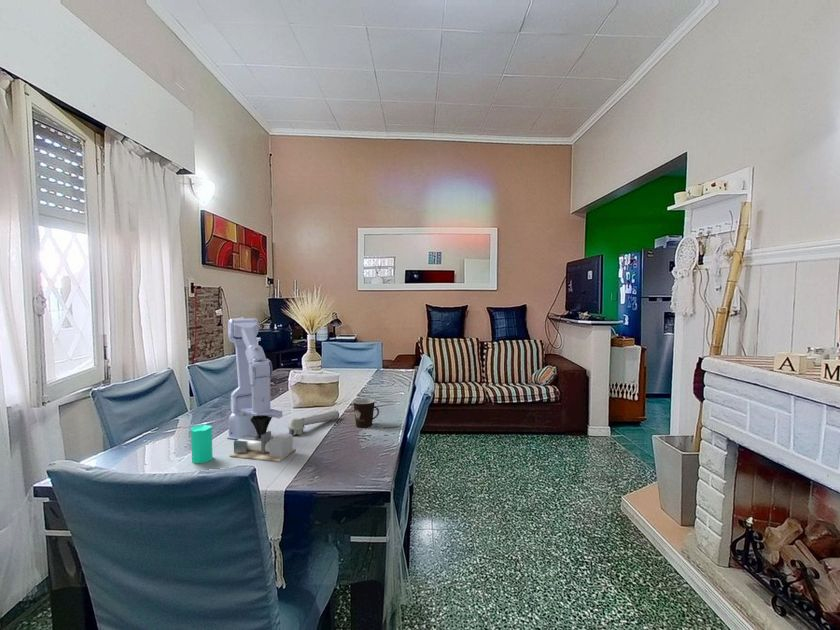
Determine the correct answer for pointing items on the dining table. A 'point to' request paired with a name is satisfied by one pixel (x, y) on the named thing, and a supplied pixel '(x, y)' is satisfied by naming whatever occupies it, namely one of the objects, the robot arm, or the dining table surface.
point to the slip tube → (260, 443)
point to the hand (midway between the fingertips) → (261, 437)
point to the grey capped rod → (311, 421)
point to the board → (258, 456)
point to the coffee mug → (364, 412)
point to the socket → (281, 445)
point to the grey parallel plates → (243, 444)
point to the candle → (201, 443)
